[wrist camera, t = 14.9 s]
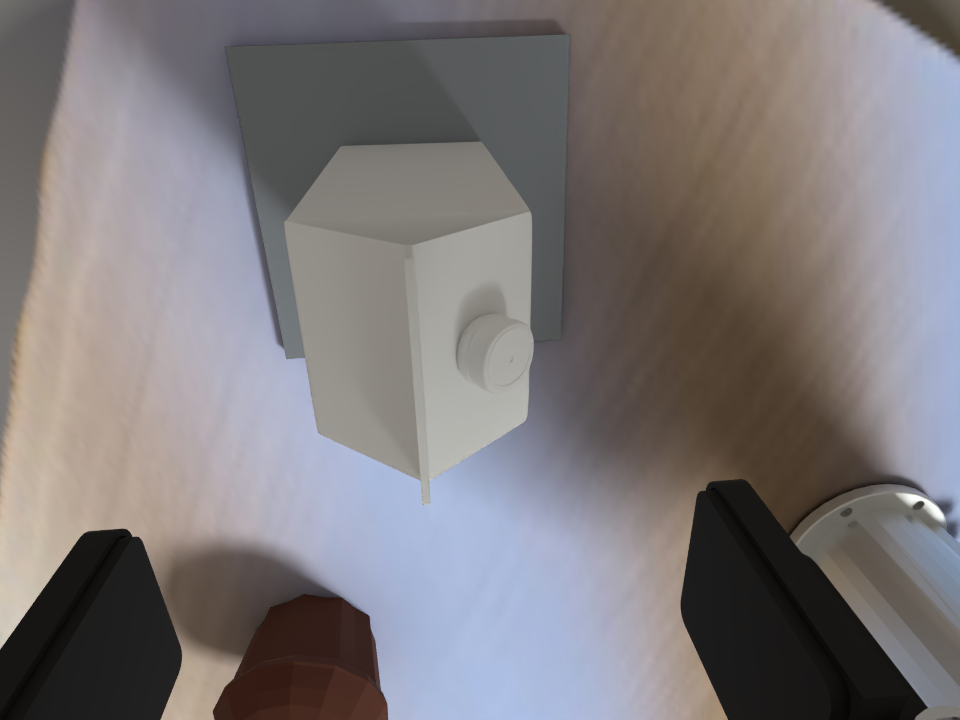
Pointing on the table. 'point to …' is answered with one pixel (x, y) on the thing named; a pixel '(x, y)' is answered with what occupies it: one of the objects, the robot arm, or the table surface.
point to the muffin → (307, 666)
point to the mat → (407, 132)
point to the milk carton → (414, 302)
